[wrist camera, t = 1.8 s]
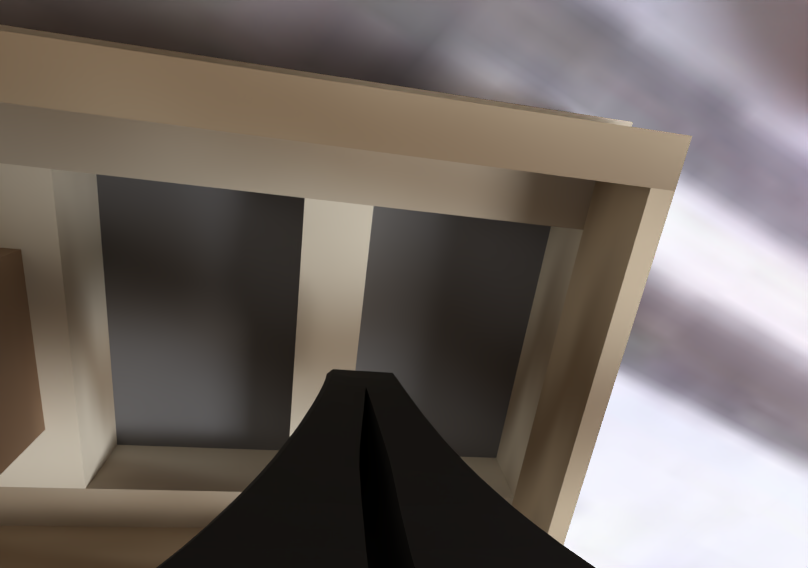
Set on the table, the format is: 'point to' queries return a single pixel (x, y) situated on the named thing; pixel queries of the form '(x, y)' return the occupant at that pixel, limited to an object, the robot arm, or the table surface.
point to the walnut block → (16, 364)
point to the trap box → (300, 280)
